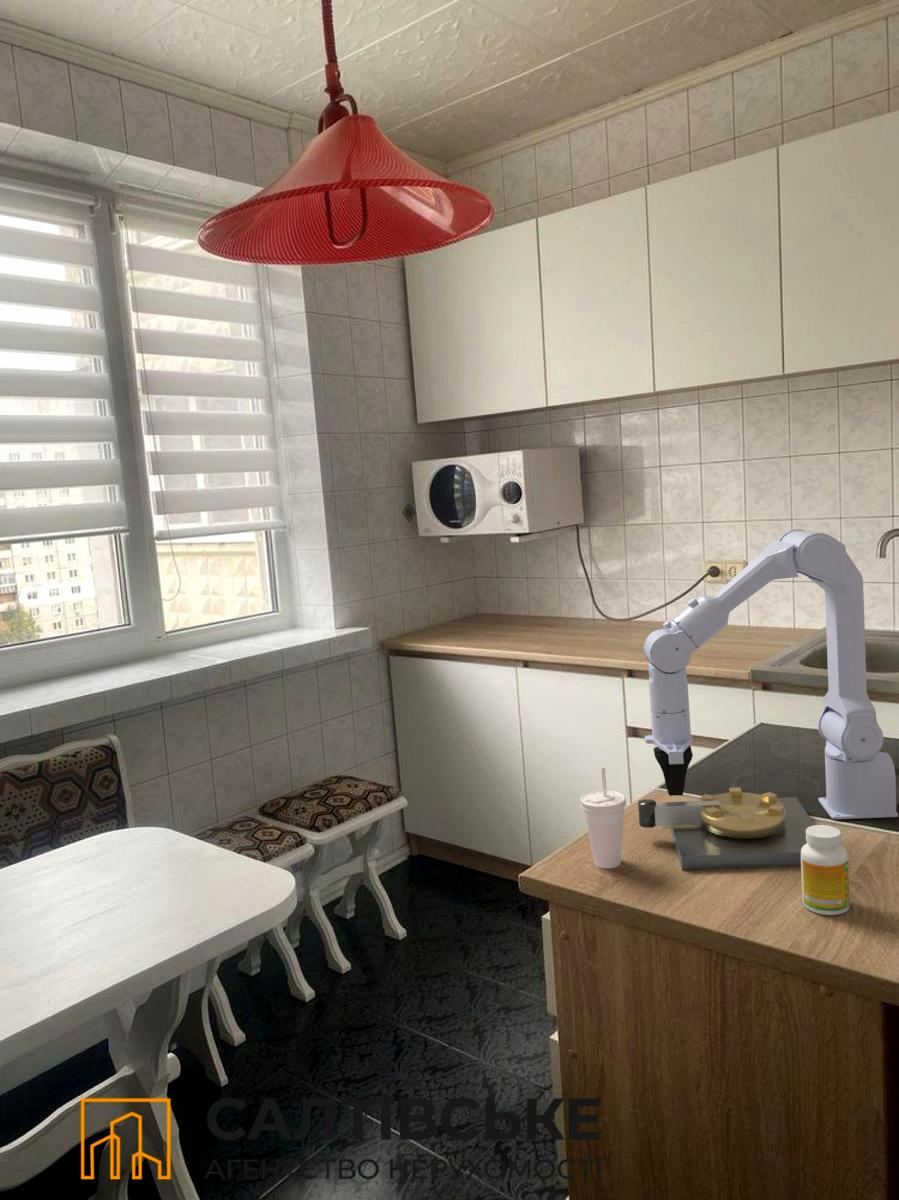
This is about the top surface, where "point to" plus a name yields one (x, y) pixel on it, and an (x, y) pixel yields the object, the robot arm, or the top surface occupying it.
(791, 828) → the plate
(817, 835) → the supplement bottle
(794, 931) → the top surface
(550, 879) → the top surface
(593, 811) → the smoothie
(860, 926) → the top surface
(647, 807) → the brass crank disc
